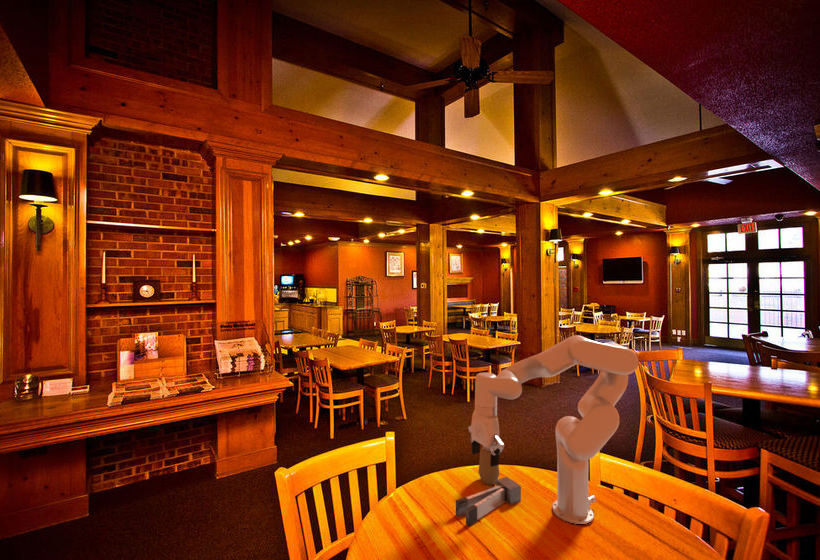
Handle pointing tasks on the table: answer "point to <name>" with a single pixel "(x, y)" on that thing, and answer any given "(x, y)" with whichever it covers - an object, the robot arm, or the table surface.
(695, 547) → the table surface
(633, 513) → the table surface
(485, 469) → the squeeze bottle
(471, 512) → the tong arm
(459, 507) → the tong base
